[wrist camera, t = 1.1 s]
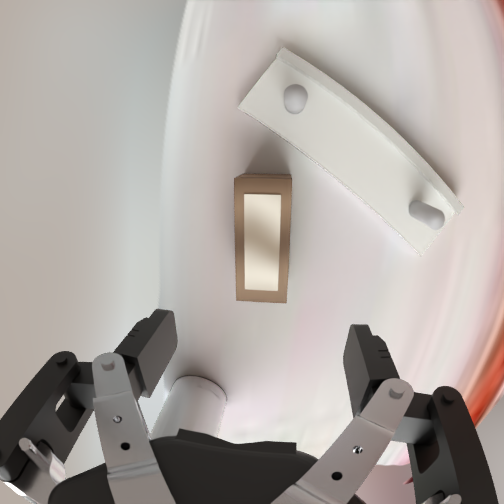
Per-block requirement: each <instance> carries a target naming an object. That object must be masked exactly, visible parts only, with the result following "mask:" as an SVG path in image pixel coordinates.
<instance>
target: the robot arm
mask: <svg viewBox="0 0 504 504" xmlns="http://www.w3.org/2000/svg"><path fill="white" fill-rule="evenodd" d="M176 347H177V333H176V326H175V318H174V313H173V311H170V310H163V309H156V310H155V311H154V312H153V314H152V315H151V316H150V317H149V318H144V319H143V320H141V321H139V322H137V323H136V325H135V326H134V327H133V328H132V330H131V331H130V332H129V333H128V336H126V337H125V338H124V339H123V341H122V342H121V343H120V345H119V346H118V347H117V348H116V349H115V351H114V352H113V353H104V354H101V355H99V356H98V357H97V358H95V359H94V361H93V362H78V361H77V358H76V356H75V355H74V354H73V353H72V352H69V351H62V352H59V353H56V354H54V355H53V356H52V357H51V358H50V359H49V360H48V362H47V363H46V364H45V365H44V366H43V367H42V368H41V370H40V371H39V372H38V373H37V374H36V375H35V377H34V378H33V379H32V380H31V381H30V383H29V384H28V385H27V386H26V388H25V389H24V390H23V391H22V392H21V394H20V395H19V396H18V398H17V399H16V400H15V401H14V403H13V404H12V405H11V406H10V408H9V409H8V410H7V412H6V413H5V414H4V416H3V417H2V418H1V420H0V480H1V481H3V482H4V483H5V484H6V485H7V486H8V487H10V488H11V489H12V490H13V491H15V492H16V493H17V494H20V495H21V496H22V497H24V498H25V499H26V500H28V501H29V502H31V503H34V504H366V503H365V502H364V501H363V500H361V499H360V498H359V497H358V496H357V495H356V494H355V492H356V491H357V490H358V488H359V487H360V486H361V485H362V483H363V482H364V480H365V479H366V478H367V476H368V475H369V473H370V472H371V471H372V469H373V467H374V466H375V465H376V463H377V462H378V460H379V458H380V457H381V455H382V454H383V452H384V451H385V449H386V447H387V446H388V444H389V442H390V441H398V442H405V443H407V447H408V453H409V458H410V464H411V470H412V476H413V483H414V490H415V497H416V504H498V499H497V495H496V491H495V487H494V483H493V480H492V476H491V473H490V470H489V466H488V464H487V460H486V457H485V454H484V451H483V448H482V445H481V443H480V440H479V437H478V435H477V432H476V429H475V426H474V424H473V421H472V419H471V416H470V414H469V412H468V409H467V407H466V405H465V402H464V400H463V398H462V396H461V394H460V393H459V392H458V391H457V390H456V389H454V388H452V387H449V386H441V387H438V388H437V389H436V390H435V391H434V392H433V394H432V395H428V394H421V393H416V392H414V391H413V388H412V386H411V385H410V384H409V383H407V382H406V381H404V380H401V379H400V377H399V375H398V372H397V370H396V367H395V365H394V362H393V360H392V358H391V355H390V353H389V352H388V348H387V346H386V343H385V342H384V341H383V340H382V339H381V338H380V337H379V336H378V335H377V336H372V333H371V331H370V328H369V326H368V325H358V324H352V325H351V326H350V329H349V334H348V338H347V342H346V346H345V350H344V356H343V364H344V369H345V374H346V379H347V385H348V390H349V395H350V401H351V407H352V412H353V418H354V419H353V420H352V421H351V423H350V424H349V425H348V426H347V428H346V429H345V430H344V431H343V433H342V434H341V435H340V436H339V437H338V439H337V440H336V441H335V442H334V443H333V444H332V446H331V447H330V448H329V449H328V450H327V451H326V452H325V453H324V455H323V456H322V457H321V458H320V459H317V458H315V457H314V456H311V455H309V454H307V453H304V452H301V451H297V450H296V443H293V442H273V441H264V442H255V443H244V444H233V443H230V442H227V441H225V440H222V439H219V438H217V436H218V432H219V428H220V424H221V421H222V417H223V413H224V409H225V405H226V401H227V399H226V395H225V393H224V392H223V390H222V389H221V388H220V387H219V386H218V385H216V384H215V383H213V382H211V381H209V380H207V379H204V378H201V377H197V376H184V377H181V378H179V379H177V380H176V381H175V383H174V385H173V387H172V389H171V391H170V393H169V395H168V397H167V399H166V401H165V403H164V406H163V408H162V410H161V412H160V414H159V416H158V418H157V420H156V423H155V425H154V427H153V429H152V431H151V433H149V431H148V428H147V425H146V423H145V420H144V417H143V415H142V411H141V409H140V405H139V403H138V399H139V398H140V396H144V397H147V398H150V396H151V395H152V392H153V391H154V389H155V387H156V385H157V383H158V382H159V380H160V378H161V376H162V374H163V372H164V370H165V369H166V367H167V365H168V363H169V361H170V359H171V358H172V356H173V354H174V352H175V350H176ZM63 394H64V396H65V399H64V401H63V402H62V404H61V405H60V407H59V408H58V410H57V411H55V409H56V404H57V403H58V401H59V400H60V399H61V397H62V396H63ZM93 411H95V417H96V421H97V427H98V432H99V437H100V441H101V446H102V450H103V454H104V458H105V463H103V464H101V465H99V466H97V467H95V468H92V469H90V470H87V471H85V472H83V473H80V474H78V475H76V476H73V477H71V478H68V479H66V478H65V473H66V471H65V467H64V463H65V461H66V459H67V457H68V455H69V453H70V452H71V450H72V448H73V446H74V444H75V442H76V441H77V439H78V437H79V435H80V433H81V431H82V430H83V428H84V426H85V425H86V423H87V421H88V419H89V418H90V416H91V414H92V412H93Z"/></svg>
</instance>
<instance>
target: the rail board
mask: <svg viewBox="0 0 504 504" xmlns="http://www.w3.org/2000/svg"><path fill="white" fill-rule="evenodd" d="M238 108H239V109H240V110H242V111H243V112H245V113H247V114H248V115H250V116H251V117H253V118H254V119H256V120H257V121H259V122H260V123H262V124H263V125H265V126H266V127H268V128H269V129H270V130H272V131H273V132H275V133H276V134H278V135H279V136H280V137H282V138H283V139H285V140H286V141H287V142H289V143H290V144H292V145H293V146H294V147H296V148H297V149H298V150H300V151H301V152H302V153H304V154H305V155H306V156H308V157H309V158H310V159H312V160H313V161H314V162H315V163H317V164H318V165H319V166H321V167H322V168H323V169H324V170H326V171H327V172H328V173H329V174H331V175H332V176H333V177H334V178H336V179H337V180H338V181H339V182H340V183H342V184H343V185H344V186H345V187H346V188H348V189H349V190H350V191H351V192H352V193H353V194H355V195H356V196H357V197H358V198H359V199H360V200H362V201H363V202H364V203H365V204H366V205H367V206H368V207H369V208H371V209H372V210H373V211H374V212H375V213H376V214H377V215H378V216H379V217H380V218H382V219H383V220H384V221H385V222H386V223H387V224H388V225H389V226H390V227H391V228H392V229H393V230H394V231H395V232H396V233H397V234H398V235H399V236H400V237H401V238H403V239H404V240H405V241H406V242H407V243H408V244H409V245H410V246H411V247H412V248H413V249H414V250H415V252H417V253H418V254H419V255H420V256H422V254H423V253H424V252H425V251H426V250H427V248H428V247H429V246H430V245H431V243H432V242H433V241H434V240H435V238H436V237H437V236H438V234H439V233H440V232H441V231H442V229H443V228H444V227H445V225H446V224H447V223H448V221H449V220H450V218H451V217H452V216H453V214H454V213H456V214H458V215H459V214H460V212H461V211H462V210H463V208H464V206H463V205H462V203H461V202H460V201H459V200H458V198H457V197H456V196H455V195H454V193H453V192H452V191H451V190H450V188H449V187H448V186H447V185H446V184H445V182H444V181H443V180H442V179H441V178H440V177H439V175H438V174H437V173H436V172H435V171H434V170H433V169H432V168H431V166H430V165H429V164H428V163H427V162H426V161H425V160H424V159H423V158H422V157H421V156H420V155H419V154H418V153H417V152H416V151H415V149H414V148H413V147H412V146H411V145H410V144H409V143H408V142H407V141H406V140H404V139H403V138H402V137H401V136H400V135H399V134H398V133H397V132H396V131H395V130H394V129H393V128H392V127H391V126H390V125H389V124H387V123H386V122H385V121H384V120H383V119H382V118H381V117H380V116H378V115H377V114H376V113H375V112H374V111H373V110H371V109H370V108H369V107H368V106H367V105H366V104H364V103H363V102H362V101H361V100H359V99H358V98H357V97H356V96H354V95H353V94H352V93H351V92H349V91H348V90H347V89H345V88H344V87H343V86H341V85H340V84H339V83H337V82H336V81H335V80H333V79H332V78H330V77H329V76H328V75H326V74H325V73H323V72H322V71H320V70H319V69H317V68H316V67H314V66H313V65H311V64H310V63H308V62H307V61H305V60H304V59H302V58H301V57H299V56H297V55H296V54H294V53H292V52H291V51H289V50H287V49H286V48H284V47H282V49H281V50H280V51H279V52H278V53H277V54H276V59H275V60H274V62H273V63H272V64H271V65H270V66H269V68H268V69H267V70H266V71H265V73H264V74H263V75H262V76H261V77H260V79H259V80H258V81H257V83H256V84H255V85H254V86H253V88H252V89H251V90H250V91H249V93H248V94H247V95H246V97H245V98H244V99H243V101H242V102H241V103H240V105H239V106H238Z"/></svg>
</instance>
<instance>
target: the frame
mask: <svg viewBox="0 0 504 504" xmlns="http://www.w3.org/2000/svg"><path fill="white" fill-rule="evenodd" d="M291 192H292V178H291V175H289V174H242V175H240V176H238V177H236V178H234V209H235V266H236V300H237V301H252V302H270V303H286V301H287V284H288V267H289V246H290V223H291Z"/></svg>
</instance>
